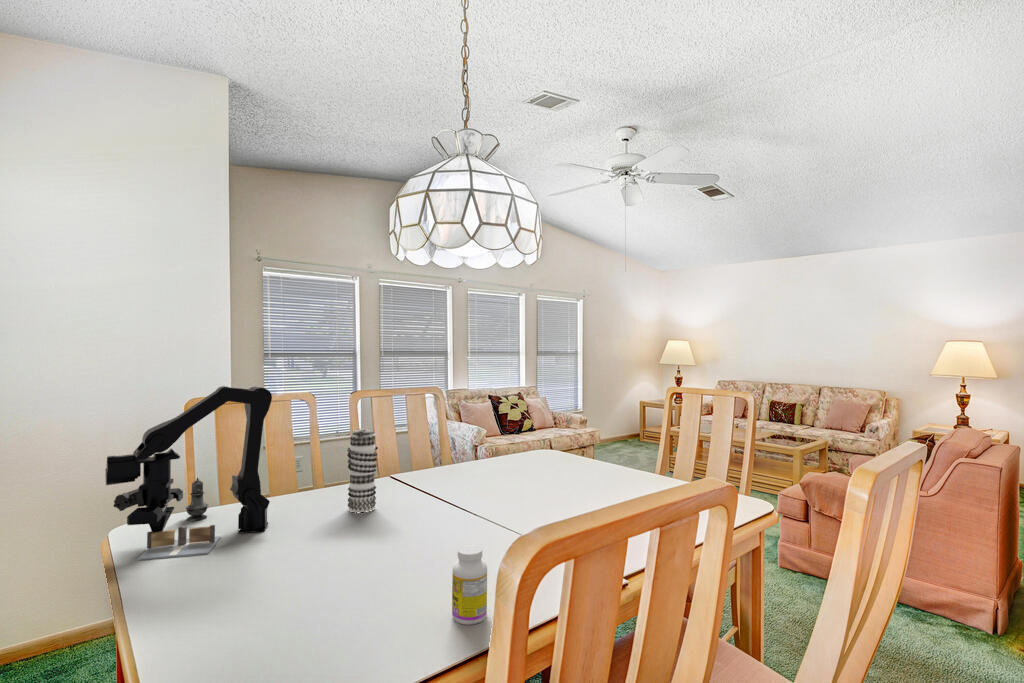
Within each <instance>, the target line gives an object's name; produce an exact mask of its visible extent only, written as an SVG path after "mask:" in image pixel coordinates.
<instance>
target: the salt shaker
mask: <svg viewBox="0 0 1024 683" xmlns="http://www.w3.org/2000/svg"><path fill="white" fill-rule="evenodd" d="M204 494H205V491H204V481H201V480H200V479H199V477H197V478H196V480H194V481H193V482H192V483H191V492H190V494H189V495H190V496H191V497H190V498H191V500H190V504H189V505H186V506H185V510H186V513H187V514H188V517H186V521H187V522H198V521H202V520H205V519H207V518H208V516H207V515H206V514H205V513H206V512H207V510H208V507H209V503H207V502H205V501H204Z"/></svg>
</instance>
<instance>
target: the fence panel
mask: <svg viewBox="0 0 1024 683" xmlns="http://www.w3.org/2000/svg"><path fill="white" fill-rule="evenodd" d="M175 531H176V530H175V529H170V530H163V531H160V532H153V531H151V530H150V531H147V533H146V549H149V548H155V547H162V546H168V545H174V543H175V540H176V539H175V538H176V536H175V535H176V534H175Z"/></svg>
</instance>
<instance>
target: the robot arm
mask: <svg viewBox="0 0 1024 683" xmlns="http://www.w3.org/2000/svg"><path fill="white" fill-rule="evenodd" d="M272 400H273V395H272V392H271V391H270V390H269V389H267V388H266V387H261V386H251V387H248V388H239V387H230V386H225V385H222V386H219V387H217V389H216V390H214V391H213V392H211V393H210V394H208V395H207V396H206V397H204V398H203V399H201V400H200V401H198V402H197V403H195V404H193V405H192V406H190V407H189V408H188V409H186V410H184V412H183V411H182V413H180V414H179V415H177V416H176V417H174V418H171V419H169V420H167V421H163V422H161V423H159V424H156V425H155V426H153V427H151V428H148V429H147V430H146V431H145V432H144V433H143V435H142V440H141V441H142V442H141V443H140V444H139V445H138V446H137V447H136V449H135V450H134V451H133V452H132V454H130V453H129V454H124V455H122V454H121V455H108V456H107V457H106V468H105V469H104V470H105V475H104V476H105V486H111V485H118V484H119V485H121V484H125V483H126V484H127V483H132V482H133V483H134V482H136V479H139V477H141V472H142V471H143V477H142V479H143V480H142V482H143V483H141V484H140V485H139V486H138V488H136V489H133V490H131V491H127V492H123V493H121V494H117V495H116V496H115V499H114V500H113V503H114V504H113V507H114V508H116V509H117V510H118V511H119V512H122V511H125V510H126V509H128V508H131V507H135V506H136V505H137V508H136V509H135V510H133V511H132V512H131V513H129V515H128V516H126V525H127V526H135V525H136V526H138V525H139V526H140V525H149V528H150V531H153V532H160V531H165V527H166V525H167V524H168V521H169V519H170V518H171V515H172V513H173V511H174V510H175V506H169V504H168V503H171V501H172V500H174V499H175V500H176V502H181V501H182V500H183V499H184V491H183V490H182V489H180V488H171V486H172V484H174V478H171V477H172V476H171V472H172V471H171V470H172V469H171V468H172V464H171V463H172V461H171V460H178V459H181V455H180V454H179V453H178V452H175V450H174V449H173V448H172V447H171V446H173V445H174V444H175V443H176V442H177V441H178V440H179V439H180V438H181V436H182V435H183V434H184V433H185V432H186V431H187V430H188V429H189V428H191V427H192V426H194V425H195V424H197V423H199V422H200V421H201V420H203V419H204V418H206V417H207V416H208V415H210V414H212V413H213V412H214V411H216V410H218V409H219V408H220V407H222V406H223V405H225V404H226V403H228V402H232V403H240V404H244V410H245V416H246V421H245V422H246V424H245V433H244V440H243V449H242V458H241V466H240V471H239V472H238V474H237V475H234V474H233V475H231V481H232V483H231V486H230V491H231V492H232V495H233V497H234V498H235V499H236V500H237V501H238V502H239V503H240V504H241V505H242V506H241V508H240V512H239V514H238V516H237V518H238V519H237V520H238V523H237V527H238V528H237V529H238V530H239V531H238V534H244V533H258V532H265V531H266V529H267V528H268V525H269V522H268V507H269V505H270V502H271V501H270V500H269V499H268V498H267V497H265V496H264V495H263V494H262V489H261V480H260V475H259V463H260V455H261V447H262V446H261V445H262V438H263V430H264V422H265V418H266V417H267V414H268V412H269V411H270V410H269V409H270V407H271V403H272ZM170 447H171V448H170ZM141 465H143V466H141ZM141 467H143V468H142V469H143V470H142V469H141ZM141 470H142V471H141Z"/></svg>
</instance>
